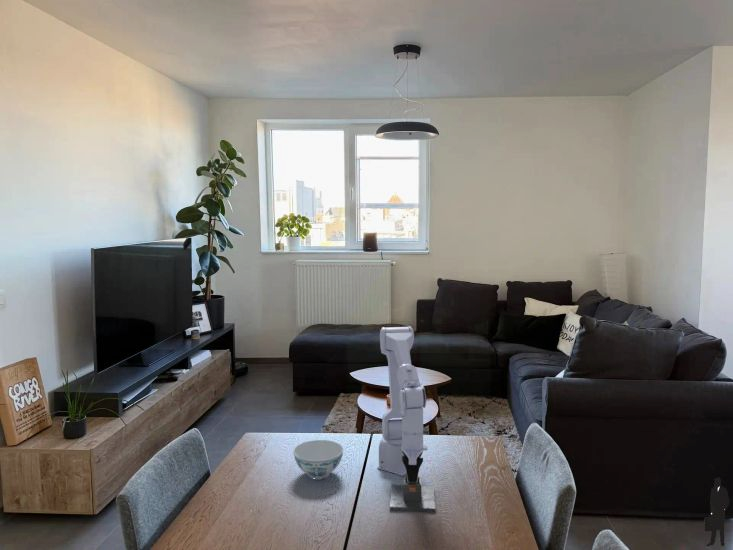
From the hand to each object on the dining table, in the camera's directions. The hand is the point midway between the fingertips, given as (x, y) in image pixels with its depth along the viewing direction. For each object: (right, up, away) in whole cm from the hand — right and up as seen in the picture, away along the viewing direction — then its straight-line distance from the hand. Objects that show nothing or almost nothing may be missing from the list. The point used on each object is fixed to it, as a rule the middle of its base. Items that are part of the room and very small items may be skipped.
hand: (412, 478), depth 144 cm
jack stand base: (0, -6, +1) cm, 6 cm away
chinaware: (-27, -5, +16) cm, 32 cm away
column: (0, -5, 0) cm, 5 cm away
